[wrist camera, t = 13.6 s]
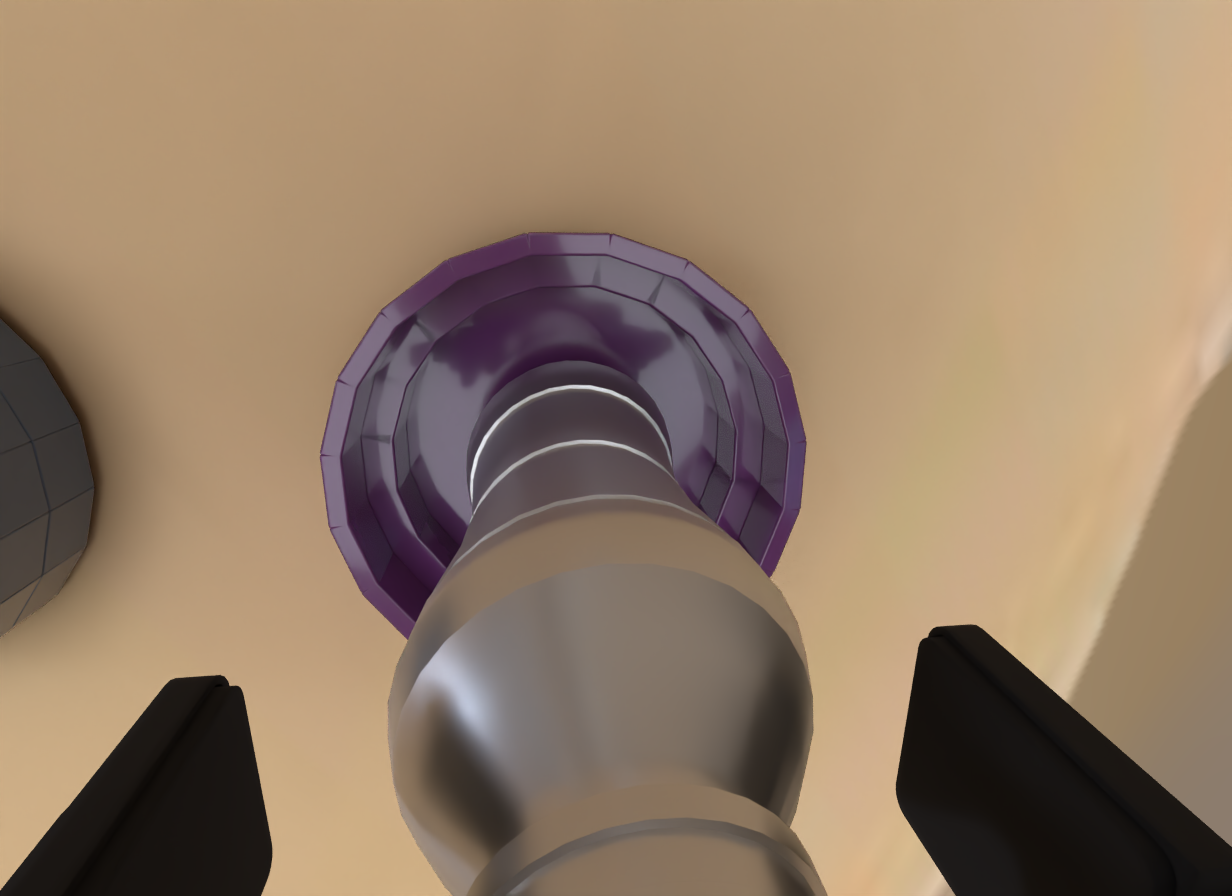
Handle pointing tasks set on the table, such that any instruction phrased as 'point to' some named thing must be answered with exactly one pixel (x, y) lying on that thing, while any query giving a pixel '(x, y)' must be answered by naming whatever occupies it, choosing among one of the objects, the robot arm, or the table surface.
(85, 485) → the blue bowl
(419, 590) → the plum bowl
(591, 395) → the silver metal bottle
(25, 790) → the table surface
